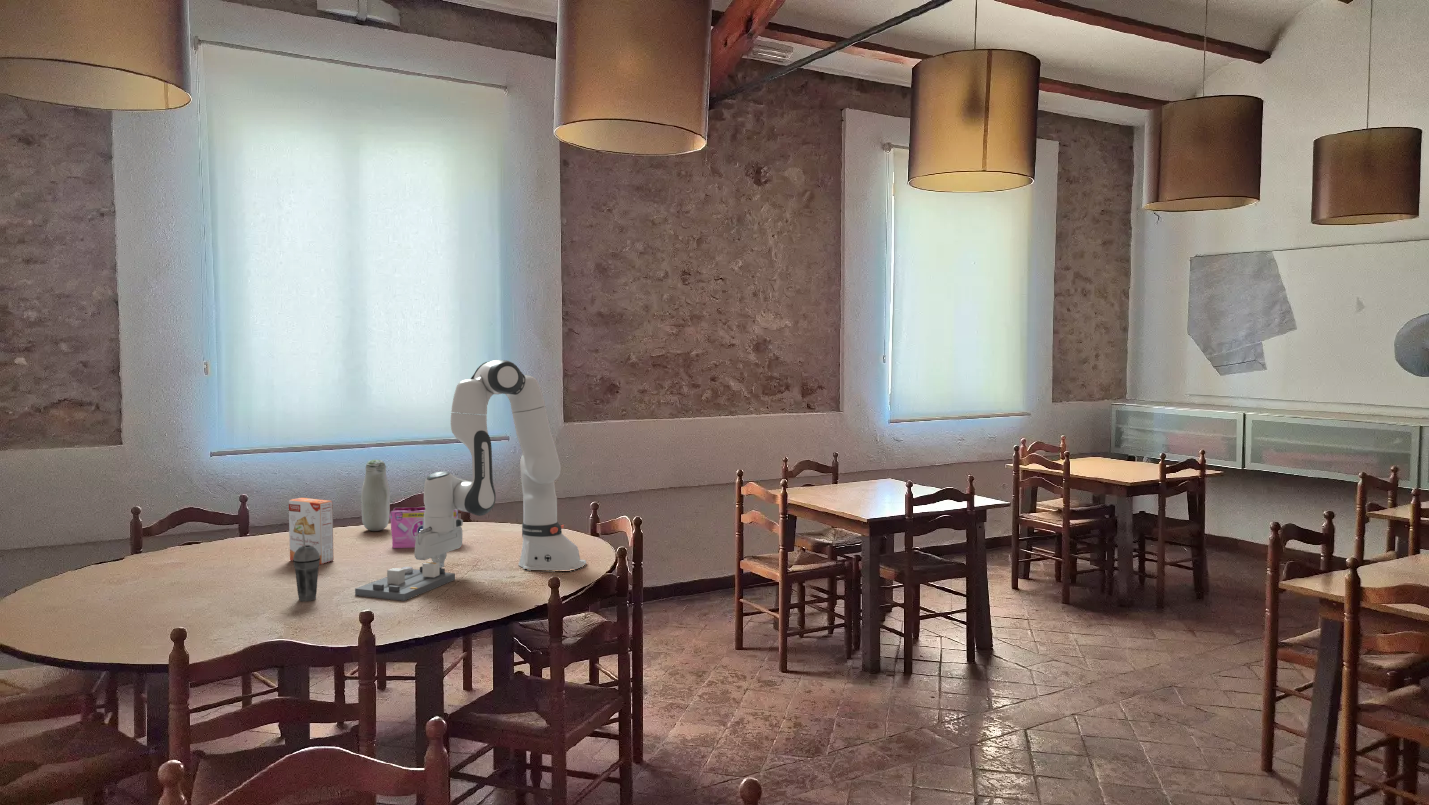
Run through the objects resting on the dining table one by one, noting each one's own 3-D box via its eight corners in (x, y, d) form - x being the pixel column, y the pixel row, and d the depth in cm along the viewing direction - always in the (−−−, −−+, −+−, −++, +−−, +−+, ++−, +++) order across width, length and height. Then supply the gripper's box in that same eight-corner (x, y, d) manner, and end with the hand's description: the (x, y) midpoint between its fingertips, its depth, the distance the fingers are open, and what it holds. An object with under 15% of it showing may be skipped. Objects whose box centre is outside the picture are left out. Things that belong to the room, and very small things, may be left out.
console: (455, 579, 284) (454, 560, 284) (404, 601, 260) (403, 580, 260) (409, 575, 289) (408, 556, 289) (355, 595, 266) (354, 575, 265)
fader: (439, 575, 280) (439, 562, 280) (433, 577, 278) (433, 564, 277) (428, 574, 282) (428, 560, 281) (422, 576, 279) (422, 563, 278)
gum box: (387, 549, 326) (387, 511, 325) (391, 544, 333) (390, 507, 333) (457, 546, 330) (456, 509, 330) (458, 542, 338) (458, 505, 337)
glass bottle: (357, 532, 352) (356, 461, 351) (371, 527, 363) (370, 457, 361) (381, 533, 351) (380, 461, 349) (394, 528, 361) (393, 458, 359)
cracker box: (288, 561, 306) (287, 499, 305) (303, 557, 312) (301, 496, 310) (320, 565, 301) (319, 502, 299) (334, 561, 306) (333, 499, 305)
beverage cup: (326, 597, 263) (325, 529, 262) (307, 603, 256) (306, 533, 255) (306, 594, 266) (305, 527, 264) (287, 601, 259) (286, 531, 258)
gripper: (426, 531, 272) (427, 576, 273) (466, 519, 291) (466, 561, 292) (409, 529, 274) (409, 575, 275) (449, 517, 293) (449, 560, 294)
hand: (439, 568), depth 284 cm, fingers closed
